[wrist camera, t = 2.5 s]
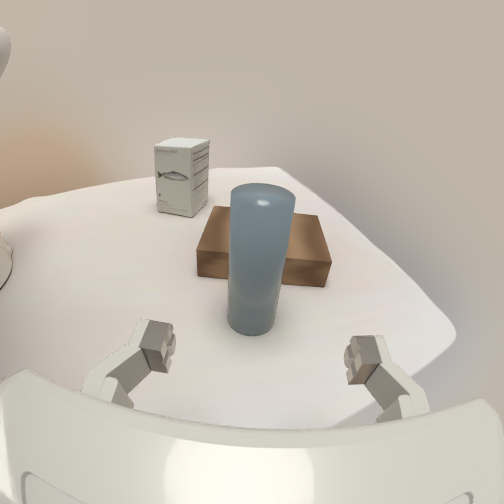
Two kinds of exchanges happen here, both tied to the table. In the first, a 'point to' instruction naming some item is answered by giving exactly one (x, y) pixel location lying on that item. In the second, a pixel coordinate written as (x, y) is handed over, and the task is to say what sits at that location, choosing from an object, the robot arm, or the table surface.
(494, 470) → the robot arm
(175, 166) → the supplement box
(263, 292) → the slate cylinder
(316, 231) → the plate
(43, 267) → the table surface
